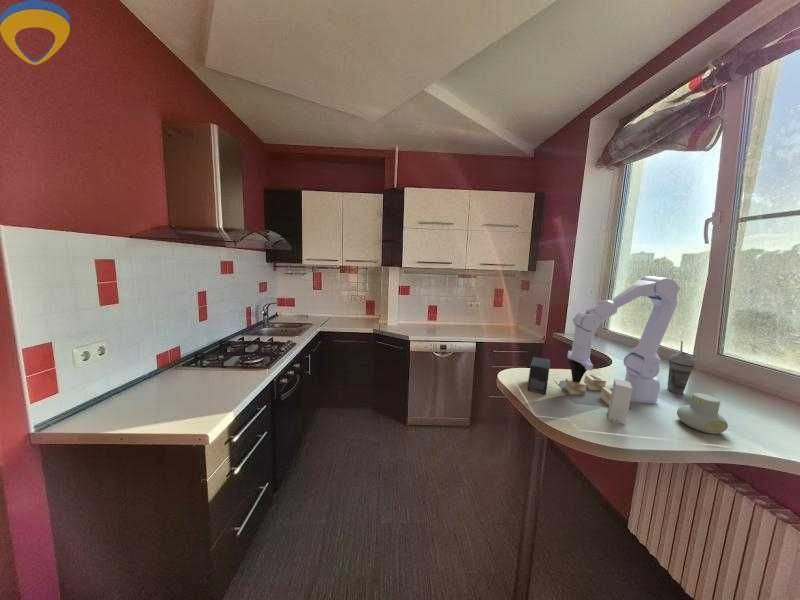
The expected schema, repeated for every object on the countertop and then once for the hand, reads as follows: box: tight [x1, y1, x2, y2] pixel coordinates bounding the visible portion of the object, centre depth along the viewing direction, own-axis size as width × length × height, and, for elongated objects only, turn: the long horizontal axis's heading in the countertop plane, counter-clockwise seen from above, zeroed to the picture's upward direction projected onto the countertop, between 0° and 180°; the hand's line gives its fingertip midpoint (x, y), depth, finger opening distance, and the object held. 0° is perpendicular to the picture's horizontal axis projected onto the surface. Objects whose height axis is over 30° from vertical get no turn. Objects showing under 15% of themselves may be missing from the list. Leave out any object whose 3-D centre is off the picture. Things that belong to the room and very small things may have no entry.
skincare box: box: [607, 378, 633, 425], centre depth 92 cm, size 6×4×12 cm
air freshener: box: [676, 392, 729, 435], centre depth 90 cm, size 11×8×10 cm
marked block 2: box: [600, 386, 613, 405], centre depth 103 cm, size 5×5×4 cm
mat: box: [558, 379, 632, 410], centre depth 109 cm, size 18×19×1 cm
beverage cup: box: [667, 340, 695, 395], centre depth 114 cm, size 7×7×20 cm
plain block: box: [564, 377, 587, 395], centre depth 109 cm, size 5×5×4 cm
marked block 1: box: [583, 373, 607, 391], centre depth 114 cm, size 5×5×4 cm
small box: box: [527, 356, 551, 396], centre depth 111 cm, size 11×6×10 cm, turn 152°
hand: (576, 381), depth 109 cm, fingers closed
